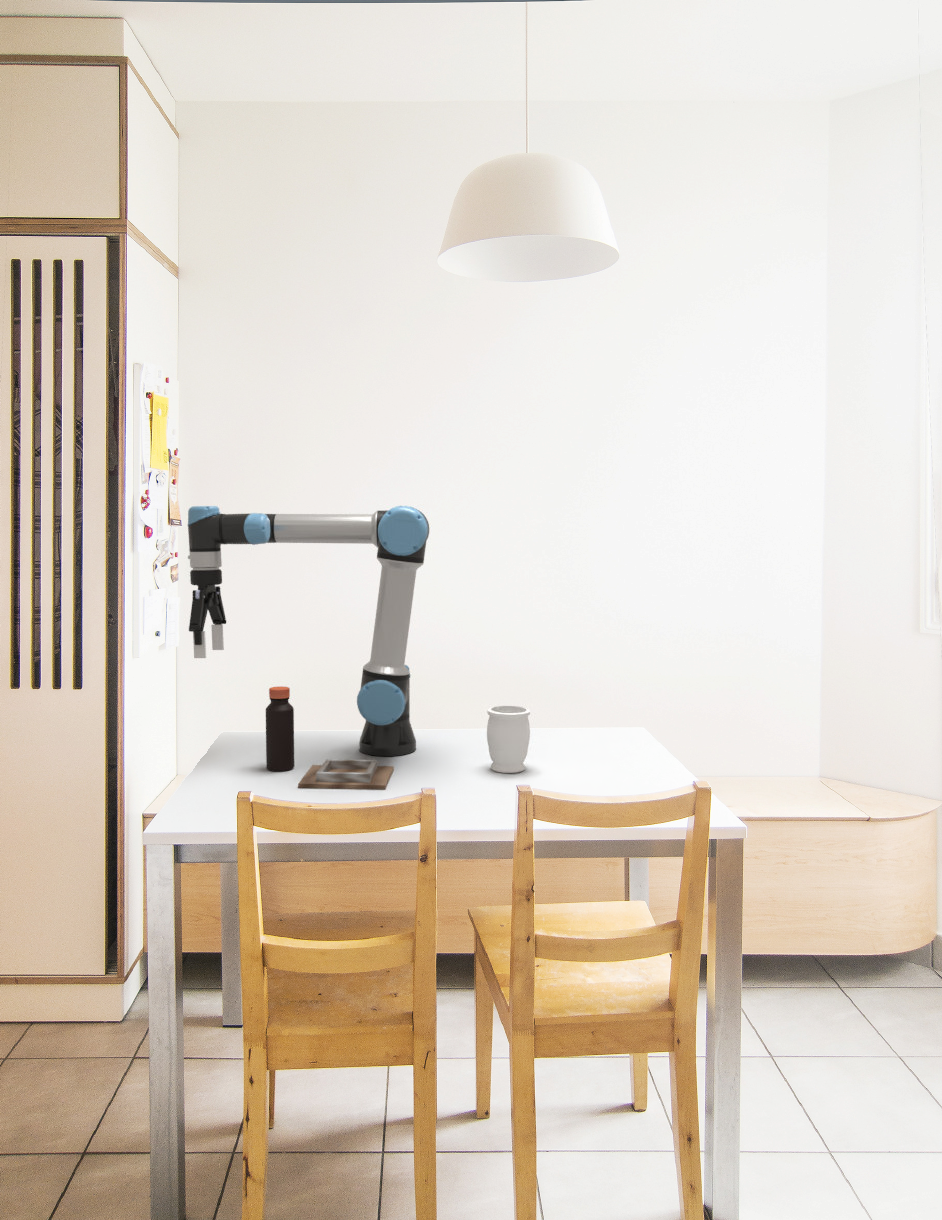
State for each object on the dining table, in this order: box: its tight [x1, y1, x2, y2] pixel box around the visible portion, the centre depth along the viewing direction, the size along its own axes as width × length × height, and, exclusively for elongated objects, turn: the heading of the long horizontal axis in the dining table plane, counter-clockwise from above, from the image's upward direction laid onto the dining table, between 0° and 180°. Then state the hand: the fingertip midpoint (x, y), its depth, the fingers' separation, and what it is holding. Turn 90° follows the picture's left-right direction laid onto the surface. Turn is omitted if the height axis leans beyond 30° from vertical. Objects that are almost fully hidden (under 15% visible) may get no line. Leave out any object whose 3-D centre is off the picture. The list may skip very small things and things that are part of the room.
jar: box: [486, 705, 531, 774], centre depth 227 cm, size 11×10×15 cm
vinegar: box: [265, 686, 295, 773], centre depth 226 cm, size 7×7×20 cm
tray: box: [297, 758, 395, 791], centre depth 218 cm, size 20×16×3 cm
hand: (209, 654), depth 230 cm, fingers open, 13 cm apart
